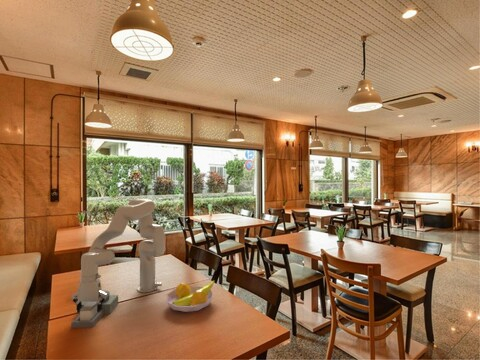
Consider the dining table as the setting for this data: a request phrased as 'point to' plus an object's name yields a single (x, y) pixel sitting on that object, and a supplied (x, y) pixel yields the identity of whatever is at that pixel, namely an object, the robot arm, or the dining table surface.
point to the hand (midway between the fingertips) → (89, 311)
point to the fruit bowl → (189, 297)
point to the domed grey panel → (107, 308)
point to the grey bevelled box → (88, 311)
